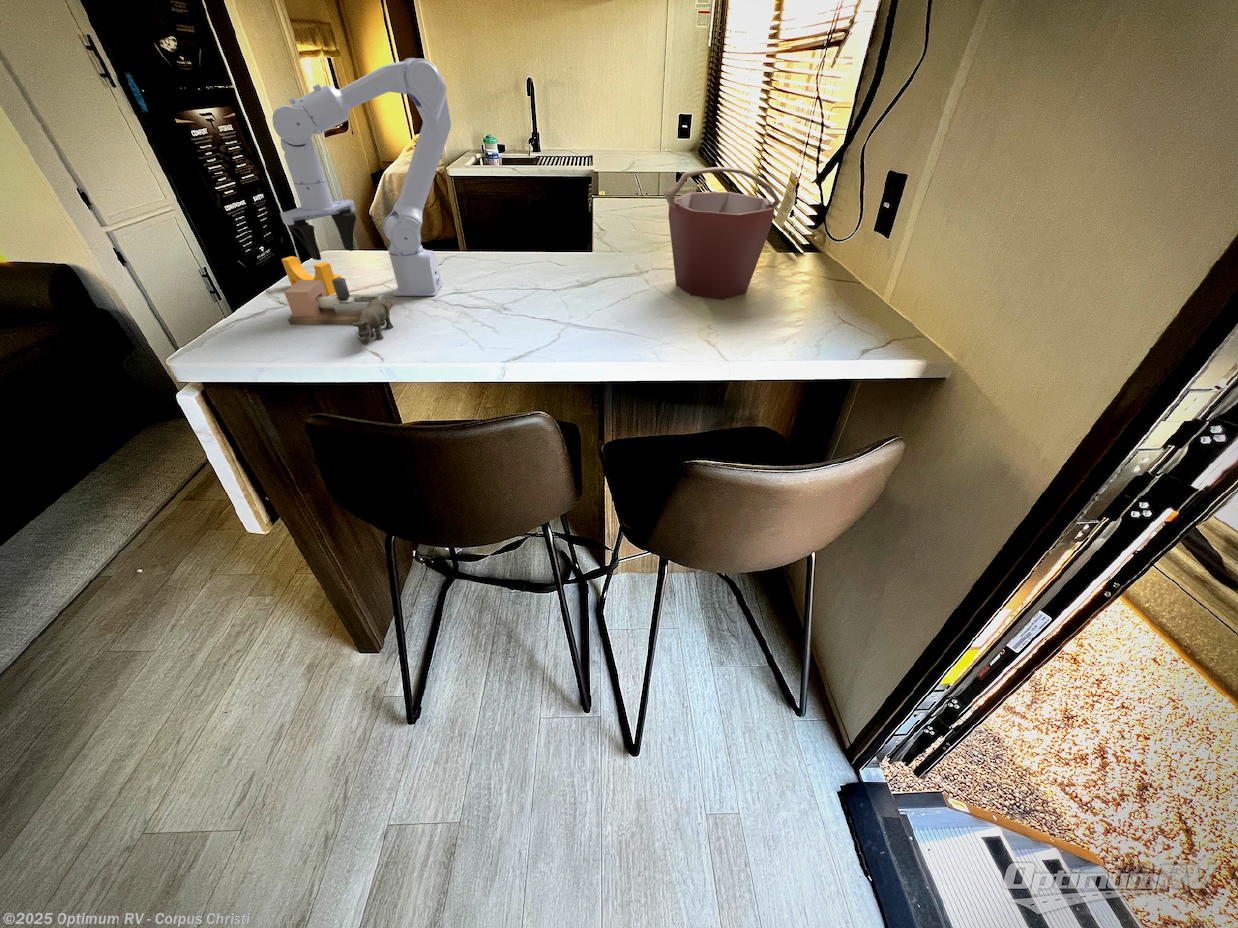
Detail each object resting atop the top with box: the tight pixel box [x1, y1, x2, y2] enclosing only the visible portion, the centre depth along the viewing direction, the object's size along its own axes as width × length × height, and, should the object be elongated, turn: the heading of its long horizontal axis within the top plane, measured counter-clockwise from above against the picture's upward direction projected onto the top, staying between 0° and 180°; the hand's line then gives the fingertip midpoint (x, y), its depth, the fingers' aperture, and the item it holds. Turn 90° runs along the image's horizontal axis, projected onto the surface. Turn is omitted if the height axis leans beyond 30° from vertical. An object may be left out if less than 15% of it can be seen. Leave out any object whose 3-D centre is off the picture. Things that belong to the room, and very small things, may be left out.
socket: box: [283, 280, 329, 317], centre depth 105 cm, size 4×7×5 cm, turn 2°
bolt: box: [315, 277, 355, 309], centre depth 105 cm, size 9×2×6 cm, turn 92°
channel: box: [333, 294, 387, 314], centre depth 106 cm, size 9×5×2 cm, turn 92°
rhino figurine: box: [349, 298, 394, 346], centre depth 97 cm, size 4×14×6 cm, turn 0°
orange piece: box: [281, 255, 342, 296], centre depth 117 cm, size 12×4×6 cm, turn 66°
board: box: [287, 300, 394, 325], centre depth 107 cm, size 18×10×1 cm, turn 92°
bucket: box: [663, 166, 780, 301], centre depth 116 cm, size 24×22×25 cm
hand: (333, 254), depth 107 cm, fingers open, 7 cm apart
